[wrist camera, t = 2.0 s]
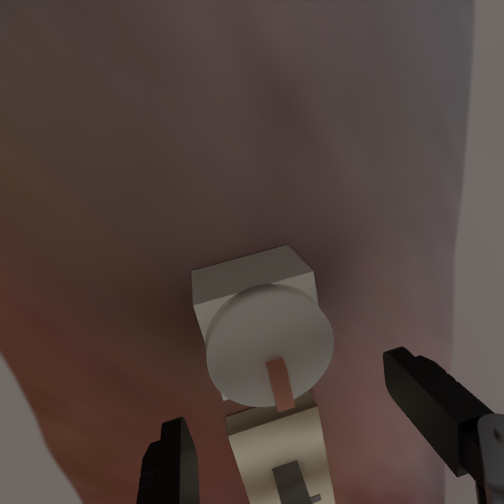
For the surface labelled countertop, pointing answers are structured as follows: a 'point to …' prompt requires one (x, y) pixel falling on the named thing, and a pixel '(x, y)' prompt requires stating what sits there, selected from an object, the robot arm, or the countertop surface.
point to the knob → (262, 327)
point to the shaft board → (282, 453)
